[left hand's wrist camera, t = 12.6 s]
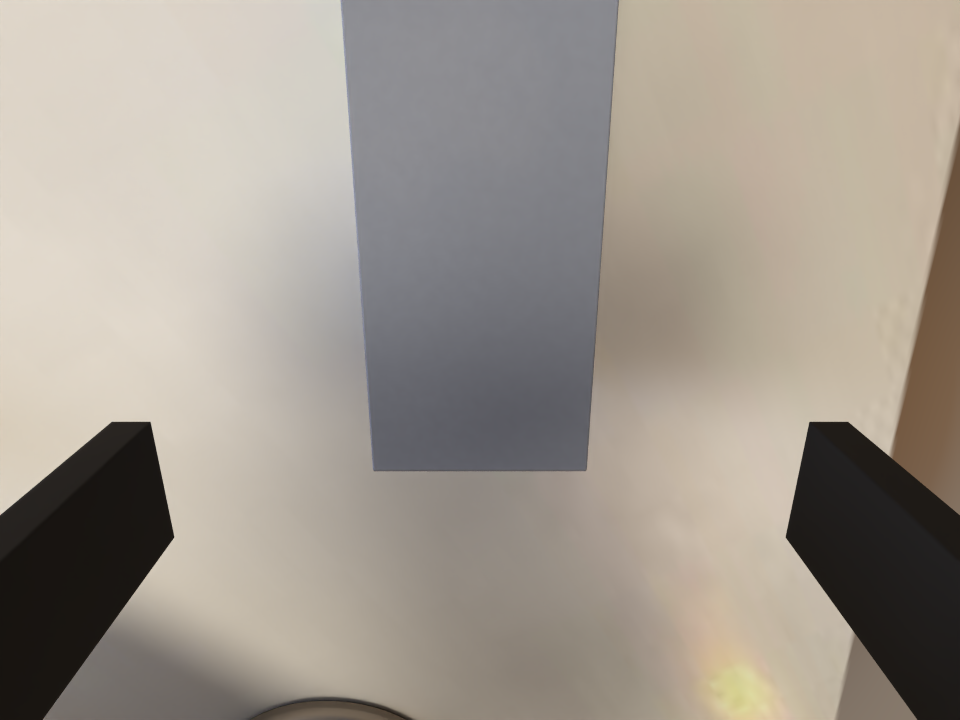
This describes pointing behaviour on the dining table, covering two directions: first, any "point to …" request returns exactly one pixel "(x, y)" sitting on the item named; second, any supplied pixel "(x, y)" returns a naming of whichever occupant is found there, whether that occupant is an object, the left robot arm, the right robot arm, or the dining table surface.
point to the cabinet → (479, 225)
